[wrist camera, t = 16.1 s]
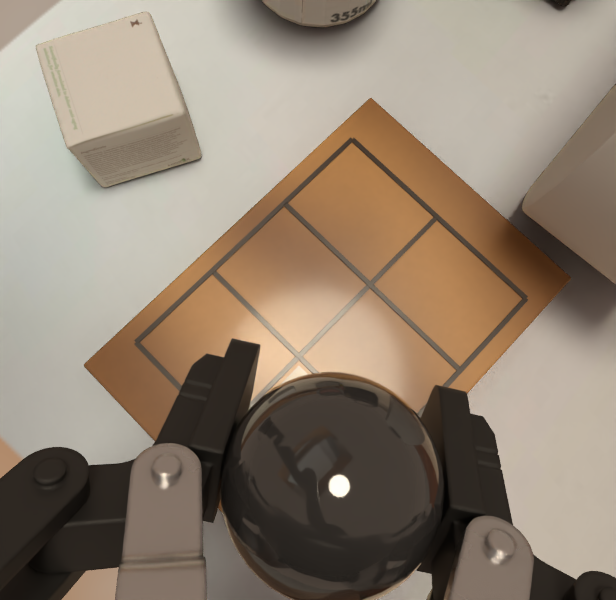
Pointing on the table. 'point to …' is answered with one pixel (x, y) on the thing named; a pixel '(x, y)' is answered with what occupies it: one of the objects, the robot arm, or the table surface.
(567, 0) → the camera
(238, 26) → the table surface
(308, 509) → the ball
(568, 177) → the alarm clock
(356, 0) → the beverage can
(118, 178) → the small box
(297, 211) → the board
